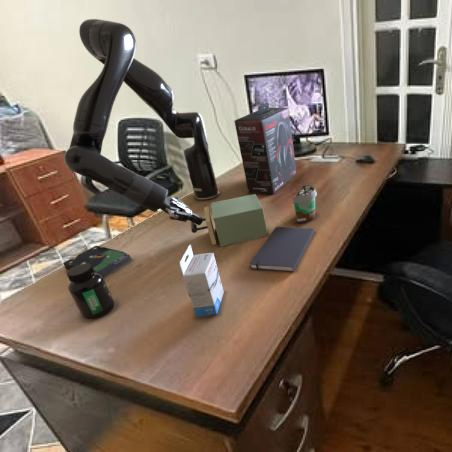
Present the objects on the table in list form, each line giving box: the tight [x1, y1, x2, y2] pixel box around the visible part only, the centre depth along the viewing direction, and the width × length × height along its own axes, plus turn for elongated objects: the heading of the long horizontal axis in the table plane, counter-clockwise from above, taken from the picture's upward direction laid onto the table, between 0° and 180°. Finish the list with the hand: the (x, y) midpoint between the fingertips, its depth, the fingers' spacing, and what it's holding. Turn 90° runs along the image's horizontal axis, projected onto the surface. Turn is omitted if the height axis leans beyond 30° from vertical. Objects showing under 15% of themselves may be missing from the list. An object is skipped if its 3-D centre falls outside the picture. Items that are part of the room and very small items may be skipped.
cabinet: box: [210, 193, 268, 247], centre depth 112 cm, size 15×13×10 cm
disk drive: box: [63, 245, 132, 278], centre depth 101 cm, size 10×3×15 cm
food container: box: [292, 183, 318, 224], centre depth 118 cm, size 12×6×10 cm, turn 168°
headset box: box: [233, 101, 297, 195], centre depth 144 cm, size 25×12×33 cm, turn 162°
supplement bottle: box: [66, 264, 116, 321], centre depth 81 cm, size 7×7×12 cm
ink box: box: [178, 244, 225, 318], centre depth 79 cm, size 9×5×15 cm, turn 5°
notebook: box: [249, 226, 315, 273], centre depth 103 cm, size 13×2×21 cm
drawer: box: [190, 206, 217, 245], centre depth 111 cm, size 18×11×8 cm, turn 111°
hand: (201, 221), depth 108 cm, fingers closed
